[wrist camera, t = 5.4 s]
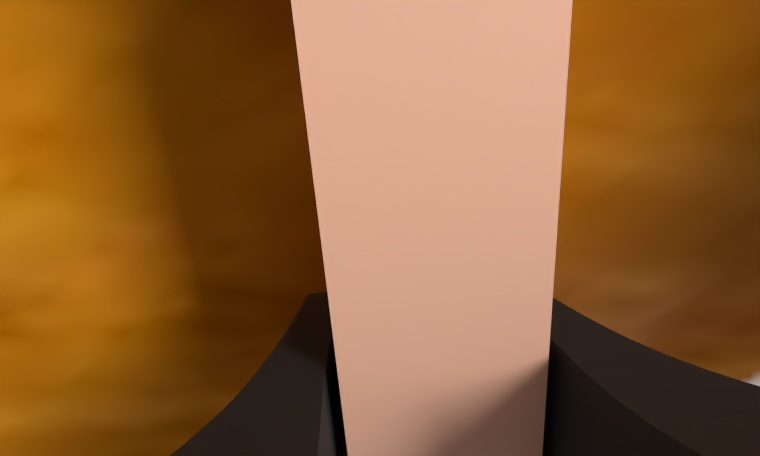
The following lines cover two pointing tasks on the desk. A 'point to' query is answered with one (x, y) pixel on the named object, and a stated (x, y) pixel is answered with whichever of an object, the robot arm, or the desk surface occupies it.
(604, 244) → the desk surface
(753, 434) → the robot arm
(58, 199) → the desk surface
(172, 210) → the desk surface
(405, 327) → the salmon pink block
